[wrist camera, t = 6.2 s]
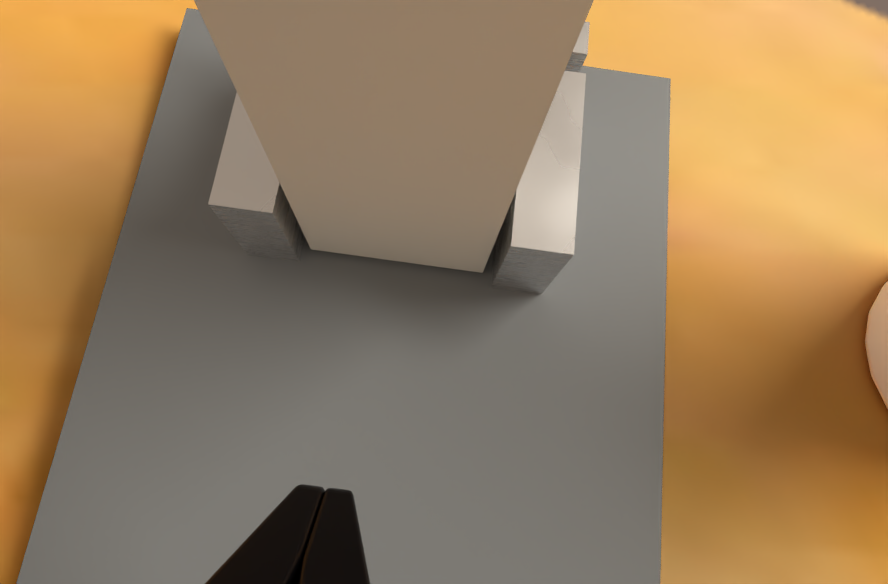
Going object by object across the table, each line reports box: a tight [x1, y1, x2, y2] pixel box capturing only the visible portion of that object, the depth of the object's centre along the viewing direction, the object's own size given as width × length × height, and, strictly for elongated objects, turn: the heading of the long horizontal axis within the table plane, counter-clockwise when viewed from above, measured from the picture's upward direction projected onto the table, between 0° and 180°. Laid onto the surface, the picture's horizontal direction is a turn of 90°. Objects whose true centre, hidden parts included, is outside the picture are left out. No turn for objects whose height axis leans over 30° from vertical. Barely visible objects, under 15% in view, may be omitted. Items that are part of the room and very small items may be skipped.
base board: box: [16, 8, 670, 584], centre depth 17 cm, size 20×16×1 cm
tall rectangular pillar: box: [194, 0, 593, 273], centre depth 11 cm, size 5×5×14 cm
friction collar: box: [208, 22, 589, 294], centre depth 16 cm, size 7×9×4 cm
